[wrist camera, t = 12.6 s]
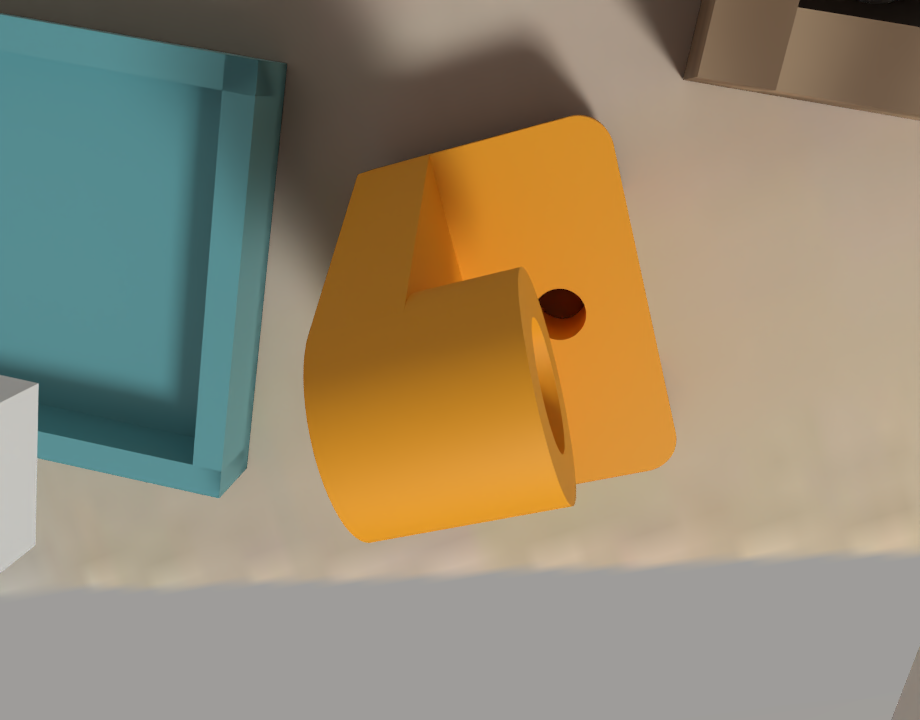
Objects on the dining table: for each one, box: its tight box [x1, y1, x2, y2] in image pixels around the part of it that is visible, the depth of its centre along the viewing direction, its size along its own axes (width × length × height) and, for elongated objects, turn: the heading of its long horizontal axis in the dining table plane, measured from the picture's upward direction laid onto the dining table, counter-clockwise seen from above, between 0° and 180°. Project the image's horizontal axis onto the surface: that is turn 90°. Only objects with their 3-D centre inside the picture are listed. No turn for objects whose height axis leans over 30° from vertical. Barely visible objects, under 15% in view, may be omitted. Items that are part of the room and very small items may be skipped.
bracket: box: [303, 115, 676, 543], centre depth 23 cm, size 11×7×12 cm, turn 16°
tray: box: [0, 13, 287, 498], centre depth 29 cm, size 15×14×2 cm
